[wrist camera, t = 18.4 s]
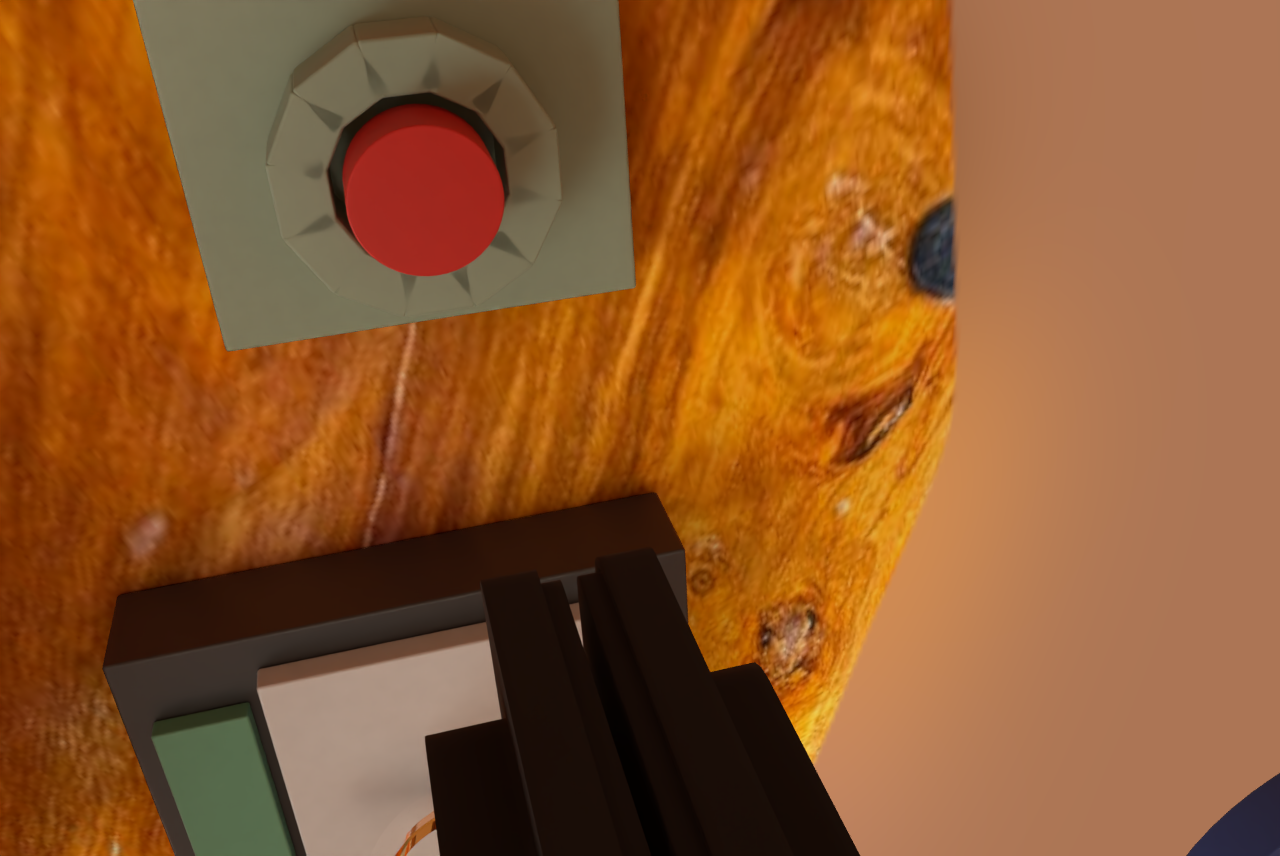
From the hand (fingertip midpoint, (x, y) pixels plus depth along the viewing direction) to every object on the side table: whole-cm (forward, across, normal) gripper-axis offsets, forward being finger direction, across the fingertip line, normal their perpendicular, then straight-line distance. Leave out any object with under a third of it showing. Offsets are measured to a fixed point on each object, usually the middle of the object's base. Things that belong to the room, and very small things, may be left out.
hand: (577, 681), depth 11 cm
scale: (+19, +2, +17) cm, 25 cm away
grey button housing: (+19, 0, 0) cm, 19 cm away
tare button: (+16, 0, 0) cm, 16 cm away
